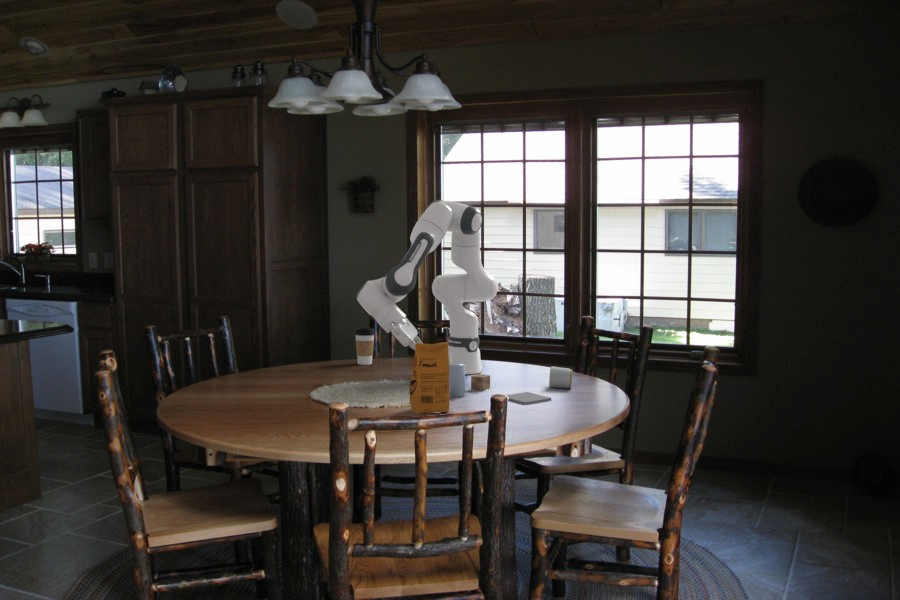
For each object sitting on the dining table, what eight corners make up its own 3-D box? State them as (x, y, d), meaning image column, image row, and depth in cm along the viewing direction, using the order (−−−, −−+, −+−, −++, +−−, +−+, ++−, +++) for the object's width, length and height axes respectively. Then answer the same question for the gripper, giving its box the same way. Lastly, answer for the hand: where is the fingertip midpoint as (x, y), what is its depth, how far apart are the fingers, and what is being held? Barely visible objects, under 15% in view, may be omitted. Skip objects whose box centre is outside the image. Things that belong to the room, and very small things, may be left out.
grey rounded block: (571, 390, 303) (572, 369, 302) (548, 389, 304) (549, 368, 304) (572, 385, 313) (573, 364, 313) (550, 384, 315) (550, 363, 314)
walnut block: (470, 389, 303) (471, 376, 302) (478, 387, 307) (478, 373, 306) (482, 391, 300) (483, 377, 299) (490, 389, 304) (490, 375, 304)
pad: (501, 398, 288) (501, 396, 288) (527, 394, 295) (527, 391, 295) (525, 404, 279) (525, 402, 279) (551, 400, 286) (551, 397, 286)
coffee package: (408, 408, 272) (408, 340, 270) (445, 406, 275) (446, 339, 272) (412, 415, 263) (412, 345, 260) (451, 413, 265) (452, 344, 263)
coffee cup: (353, 365, 349) (353, 329, 347) (356, 361, 357) (356, 326, 356) (373, 365, 348) (373, 329, 347) (376, 362, 357) (376, 326, 355)
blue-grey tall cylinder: (445, 395, 292) (445, 363, 291) (457, 393, 296) (458, 362, 294) (455, 398, 288) (455, 366, 287) (467, 396, 291) (468, 364, 290)
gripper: (396, 318, 280) (425, 348, 280) (403, 311, 300) (430, 339, 300) (382, 331, 280) (412, 361, 281) (391, 323, 301) (418, 351, 301)
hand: (421, 349), depth 291 cm, fingers open, 8 cm apart
